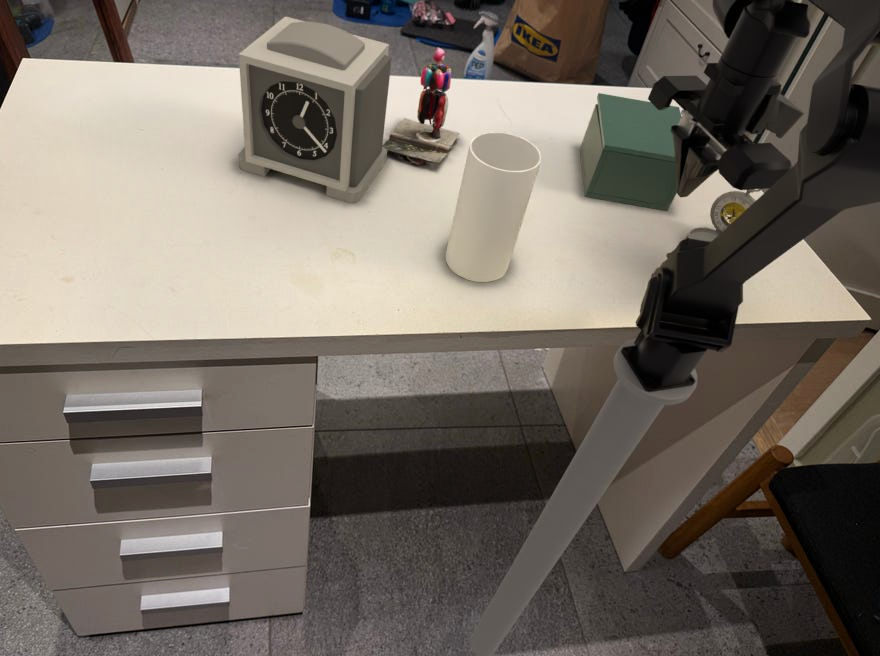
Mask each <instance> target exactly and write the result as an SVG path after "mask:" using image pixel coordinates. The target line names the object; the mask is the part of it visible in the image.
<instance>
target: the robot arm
mask: <svg viewBox="0 0 880 656" xmlns="http://www.w3.org/2000/svg"><path fill="white" fill-rule="evenodd" d="M807 1H808V2H810V3H811V4H812V5H814V7H816V8H818V9H819V10H820V11H821V12H823V13H824V14H825V15H827V17H829V18H830V19H832V20H833V21H834V22H835V23H837V24H838V25H840V26H841V27H842V28H843V29H844V31H843V38H842V46H841V48H840V49H839V51H837V53H836V54H835V55H834V57H833V58H832V59H831V60H830V61H829V63H828V64H827V65H826V66H825V68H824V69H823V70H822V72H821V73H820V74H818V76H817V77H816V79H815V80H814V82H813V84H812V87H811V94H810V100H809V107H808V113H807V122H806V124H805V125H804V126H803V128H802V129H801V130H800V132H799V139H798V153H797V161H796V162H795V164H794V165H793V164H792V161H791V160H790V159H789V158H788V157H787V156H786V155H784V154H783V153H782V152H781V151H780V150H779V148H777V147H776V146H775V145H773V144H772V142H757V143H755V142H754V141H753V140H752V139H751V138H750V137H749V136H747V135H746V134H745V133H749V134H750V135H761V134H762V132H763V131H764V130H766V131H768V132H770V133H772V134H774V135H775V137H776V138H778V139H782V138H783V137H784V136H785V135H786V134H787V133H788V132H789V131H790V130H791V129H792V128H793V126H794V125H795V124H797V122H798V121H799V120H800V119H801V118H802V117H803V116H804V115H805V112H804V111H803V110H801V108H799V107H798V106H797V105H795V104H794V103H793V102H792V101H790V100H789V99H788V98H787V97H786V96H785V95H783V94H782V93H781V92H782V84H781V83H780V82H778V79H777V77H778V75H779V73H780V71H781V69H782V68H783V66H784V65H785V62H786V61H787V59H788V57H789V55H790V53H792V52H791V51H792V49H793V48H794V46H795V45H796V42H797V41H798V39H799V38H800V39H801V38H802V39H806V38H807V37H808V36H809V35H810V33H811V32H810V31H811V21H810V18H809V14H808V13H809V11H808V10H809V5H808V4H807V3H802V2H797V1H794V0H712V10H713V13H714V15H715V17H716V19H717V21H718V23H719V24H720V27H721V29H722V31H723V33H724V34H725V36H726V38H727V39H728V41H727V43H726V45H725V46H724V48H723V51H722V52H721V55H720V57H719V59H718V62H707V64H706V66H705V68H704V70H703V74H704V75H705V76H707V78H709V80H708V82H707V83H705V82H704V81H703V80H702V79H701V78H700V77H699V76H697V75H663V76H662V77H660V78H659V79H658V80H657V81H656V82H654V83H653V85H652V88H651V90H650V93H649V95H648V97H647V100H648V102H651V103H652V104H653V105H654V106H655V107H656V108H657V109H658V110H664V109H666V108H668V107H669V106H671V104H672V102H673V101H674V102H675V103H676V104H677V105H678V107H679V108H681V109H682V110H680V113H681V116H682V117H681V119H680V121H679V124H678V125H673V126H671V129H670V131H671V133H672V134H673V141H674V151H675V165H676V192H677V193H676V195H678V196H679V198H686V197H689V196H690V195H691V194H692V193H693V192H694V191H696V189H698V188H699V187H700V186H701V185H703V184H704V182H705V181H707V180H708V179H709V178H710V177H711V176H713V175H714V173H716V172H718V174H720V176H721V177H722V178H723V180H725V181H726V182H727V183H728V184H729V185H730V186H731V187H732V188H733V189H735V190H738V191H747V190H752V189H755V190H758V189H762V190H765V189H766V191H765V192H763V193H762V195H760V196H759V197H758V198H757V199H755V200H756V201H755V202H754V203H753V204H752V205H751V206H750V207H749V208H748V209H747V210H745V211H744V212H743V213H742V214H741V215H740V216H739V217H738V218H737V219H736V220H735V221H733V222H732V223H730V225H729V226H728V227H727V228H726V229H725V230H724V231H723V232H721V233H720V234H719V235H718V236H717V237H716V238H715V239H714V240H713V241H712V242H709V241H703V240H697V239H692V238H687V237H686V238H684V239H682V240H681V241H679V242H678V244H677V245H676V247H675V248H674V249H673V250H671V252H667V253H666V259H665V260H664V261H663V262H661V264H660V266H657V268H655V270H654V271H653V272H652V273H651V275H650V278H649V279H648V282H647V286H646V289H645V292H644V295H643V297H642V300H641V303H640V308H639V315H638V316H637V318H636V320H635V326H636V327H637V328H638V329H639V330H640V331H639V333H638V334H637V337H635V338H636V340H635V342H634V344H635V346H627V347H623V348H622V350H621V353H622V354H623V356H624V358H625V359H626V361H627V363H628V364H629V366H630V367H631V369H632V371H633V372H634V374H635V375H636V377H637V379H638V380H639V382H640V383H641V385H642V387H643V388H644V390H645V391H647V392H653V391H660V390H667V389H673V388H680V387H686V386H692V385H694V383H695V379H694V378H693V376H692V375H691V372H692V371H693V370H694V368H695V369H696V367H697V365H698V364H699V363H700V361H701V359H702V358H703V357H704V355H705V354H706V352H707V351H708V350H710V351H715V352H717V353H723V352H724V351H726V350H728V348H730V347H731V346H732V343H733V337H734V333H735V328H736V322H737V319H738V313H739V306H740V305H742V303H744V284H745V283H746V282H748V281H749V280H750V279H751V278H752V277H754V276H755V275H757V274H758V273H759V272H761V271H762V270H763V269H765V268H766V267H768V266H769V265H770V264H771V263H773V262H774V261H776V260H777V259H778V258H780V257H781V256H783V255H784V254H785V253H786V252H788V251H790V250H791V249H793V248H794V247H795V246H797V245H798V244H799V243H801V242H802V241H803V240H805V239H806V238H807V237H808V236H810V235H811V234H813V233H814V232H815V231H817V230H818V229H819V228H821V227H822V226H824V225H825V224H826V223H827V222H829V221H830V220H832V219H833V218H835V216H838V214H840V213H841V212H843V211H845V210H847V209H848V210H849V209H853V208H856V207H862V206H867V205H873V204H876V203H880V87H874V86H869V85H864V84H858V83H853V84H852V81H853V73H854V67H855V62H856V61H857V59H859V57H860V56H861V55H862V54H863V52H864V51H865V50H866V49H867V47H868V46H872V47H878V48H880V0H807ZM626 351H627V352H626ZM648 387H649V388H648Z"/></svg>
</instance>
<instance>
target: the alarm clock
mask: <svg viewBox="0 0 880 656" xmlns="http://www.w3.org/2000/svg"><path fill="white" fill-rule="evenodd" d="M389 47H390V43H386V42H382V41H378V40H375V39H371V38H367V37H363V36H359V35H356V34H353V33H350V32H348V31H345V30H343V29H342V28H339V27H336V26H334V25H331V24H328V23H322V22H316V21H304V20H301V19H297V18H293V17H290V16H284V17H283V18H281V19H280V20H279V21H278V22H276V23H275V24H274V25H273V26H271V27H270V28H269V29H268V30H267V31H265V32H264V33H263V34H261V35H260V36H259V37H258V38H257V39H255V40H254V41H253V42H251V43H250V44H249V45H248V46H247V47H245V49H243V50H242V51H240V52H239V53H238V65H239V67H238V68H239V82H240V94H241V109H242V111H241V112H242V123H243V124H242V126H243V140H244V147H243V149H241V150H240V152H238V154H237V159H238V168H239V169H240V170H241V171H245V172H247V173H251V174H254V175H258V176H260V177H266V175H267V174H268V173H269V172H270V171H271V170H273V171H276V172H279V173H282V174H286V175H289V176H293V177H297V178H300V179H303V180H306V181H309V182H313V183H316V184H319V185H322V186H326V192H325V196H326V197H329V198H332V199H335V200H339V201H343V202H346V203H348V204H349V203H350V204H352V203H353V204H355V203H357V202H360V201H361V199H362V198H363V196H364V195H365V194H366V192H367V190H368V189H369V187H370V186H371V185H372V184H373V181H374V180H375V178H376V177H377V176H378V174H379V173H380V171H381V170H382V168H383V167H384V166H385V164H386V162H387V158H388V151H387V150H386V149H385V148H384V147H382V145H384V143H383V142H384V133H385V124H386V115H387V106H388V95H389V89H390V88H389V86H390V79H391V78H390V77H391V68H392V59H393V56H390V55H389Z"/></svg>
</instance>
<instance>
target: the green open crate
mask: <svg viewBox="0 0 880 656" xmlns="http://www.w3.org/2000/svg"><path fill="white" fill-rule="evenodd" d="M579 155H580V163H581V171H582V172H581V173H582V183H583V190H584V191H583V192H584V197H586V198H592V199H597V200H602V201H603V200H604V201H609V202H613V203H614V202H615V203H620V204H625V205H633V206H637V207H644V208H648V209H655V210H659V211H660V210H661V211H669V209H670V207H671V205H672V203H673V201H674V199H675V198H676V195H677V192H676V165H675V162H672V161H667V160H661V159H655V158H650V157H644V156H638V155H632V154H627V153H621V152H615V151H609V150H604V149H603V144H602V136H601V127H600V119H599V110H598V103H595V105H594V108H593V111H592V113H591V117H590V119H589V122H588V125H587V128H586V131H585V132H584V136H583V139H582V142H581V145H580V147H579Z"/></svg>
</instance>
